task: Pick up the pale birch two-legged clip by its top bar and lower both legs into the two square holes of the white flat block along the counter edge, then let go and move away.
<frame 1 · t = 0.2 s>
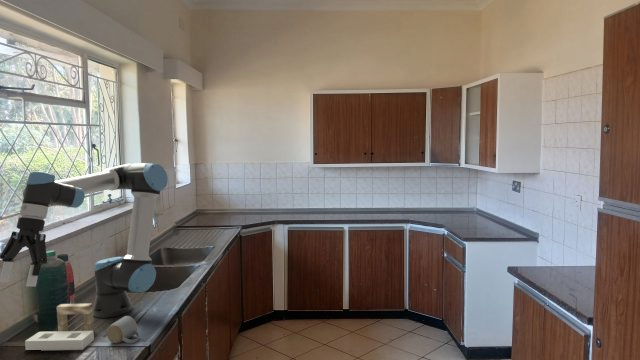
hand: (17, 284, 144), 27 cm above the countertop, tool tilted 20°, fingers open, 13 cm apart
white flat block: (60, 345, 163), on the countertop
ceramic mug: (125, 340, 166), on the countertop
clip: (76, 333, 173), on the countertop
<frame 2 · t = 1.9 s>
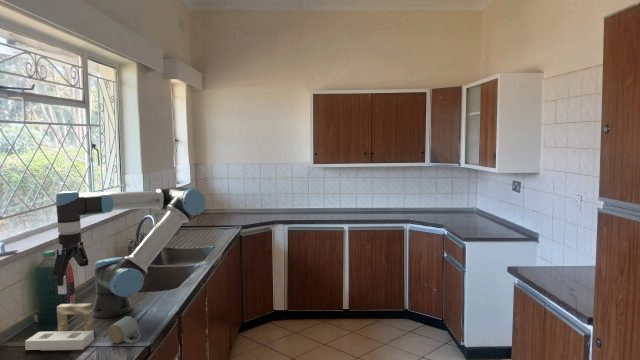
hand: (72, 288, 172), 18 cm above the countertop, tool pointing down, fingers open, 13 cm apart
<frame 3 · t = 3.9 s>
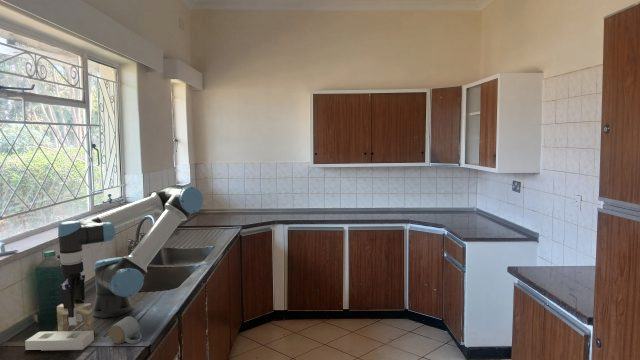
hand: (75, 322, 173), 4 cm above the countertop, tool pointing down, fingers closed on clip, 3 cm apart
clip: (76, 333, 173), on the countertop, touching gripper
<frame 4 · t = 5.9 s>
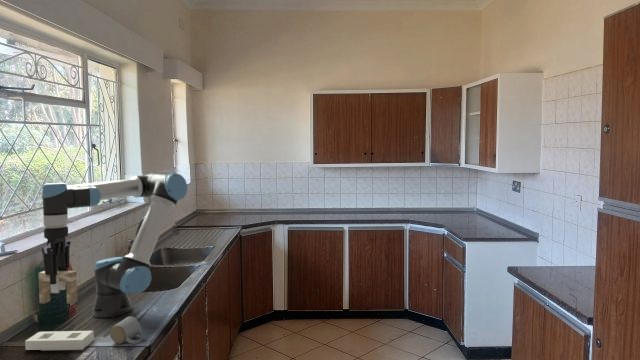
hand: (58, 291, 163), 19 cm above the countertop, tool pointing down, fingers closed on clip, 3 cm apart
clip: (58, 302, 163), point 15 cm above the countertop, touching gripper
when the fingers open (6 cm above the countertop, at t = 8.2 s): clip drops 2 cm, on the countertop.
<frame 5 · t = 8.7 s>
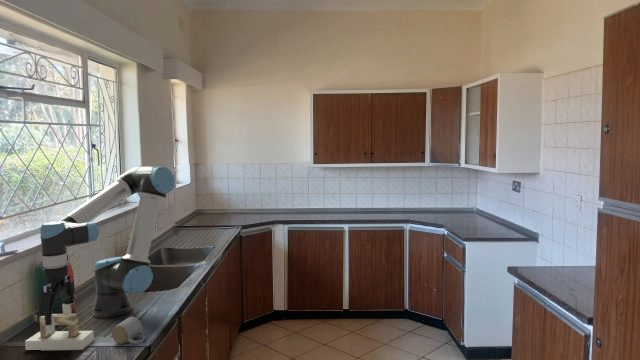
hand: (59, 327, 162), 7 cm above the countertop, tool pointing down, fingers open, 10 cm apart
clip: (60, 345, 163), on the countertop
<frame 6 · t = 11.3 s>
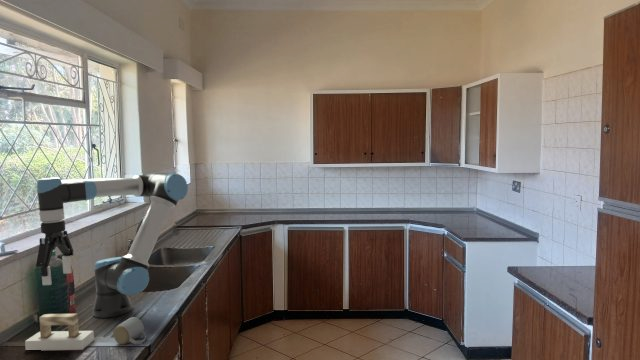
hand: (57, 278, 164), 23 cm above the countertop, tool pointing down, fingers open, 13 cm apart
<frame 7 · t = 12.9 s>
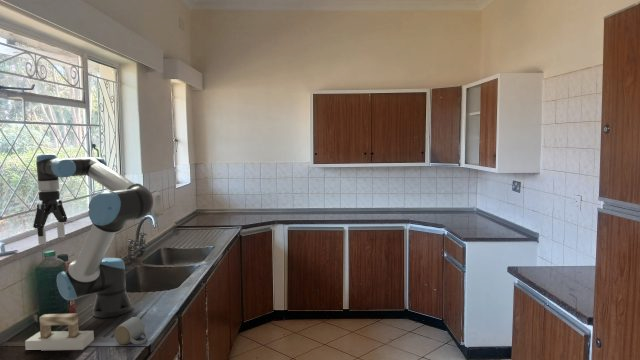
hand: (52, 240, 192), 32 cm above the countertop, tool pointing down, fingers open, 13 cm apart
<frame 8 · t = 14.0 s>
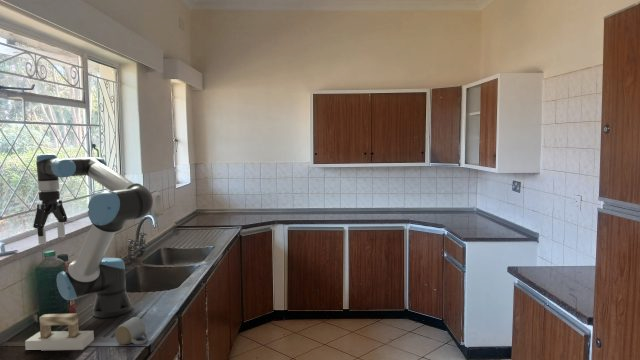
hand: (52, 240, 192), 32 cm above the countertop, tool pointing down, fingers open, 13 cm apart
at the end: clip 0.0 cm off-centre on the white flat block, point 0.0 cm above the white flat block's base; clip tilted 0°; the gripper is holding nothing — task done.
